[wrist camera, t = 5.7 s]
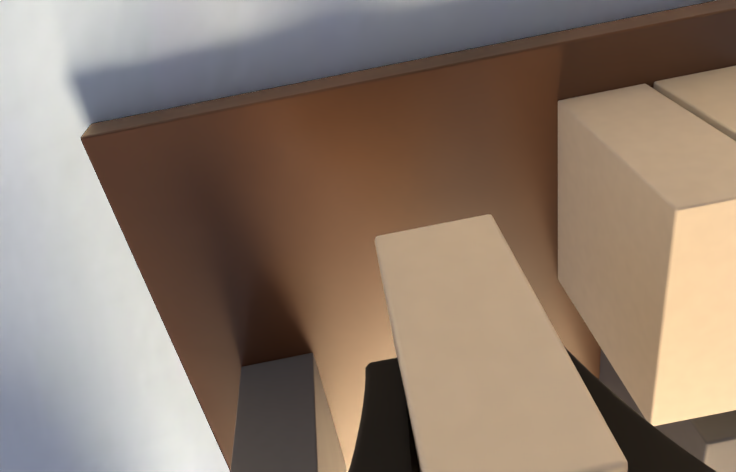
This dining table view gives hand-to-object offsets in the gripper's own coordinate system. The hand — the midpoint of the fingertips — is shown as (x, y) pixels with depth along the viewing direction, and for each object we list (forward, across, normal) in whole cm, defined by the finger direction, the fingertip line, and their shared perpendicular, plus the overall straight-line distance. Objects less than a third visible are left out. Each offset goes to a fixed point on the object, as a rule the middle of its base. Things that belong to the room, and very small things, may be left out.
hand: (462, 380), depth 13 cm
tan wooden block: (+1, 0, 0) cm, 1 cm away
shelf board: (+7, -1, +5) cm, 9 cm away
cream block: (+6, -7, 0) cm, 9 cm away
